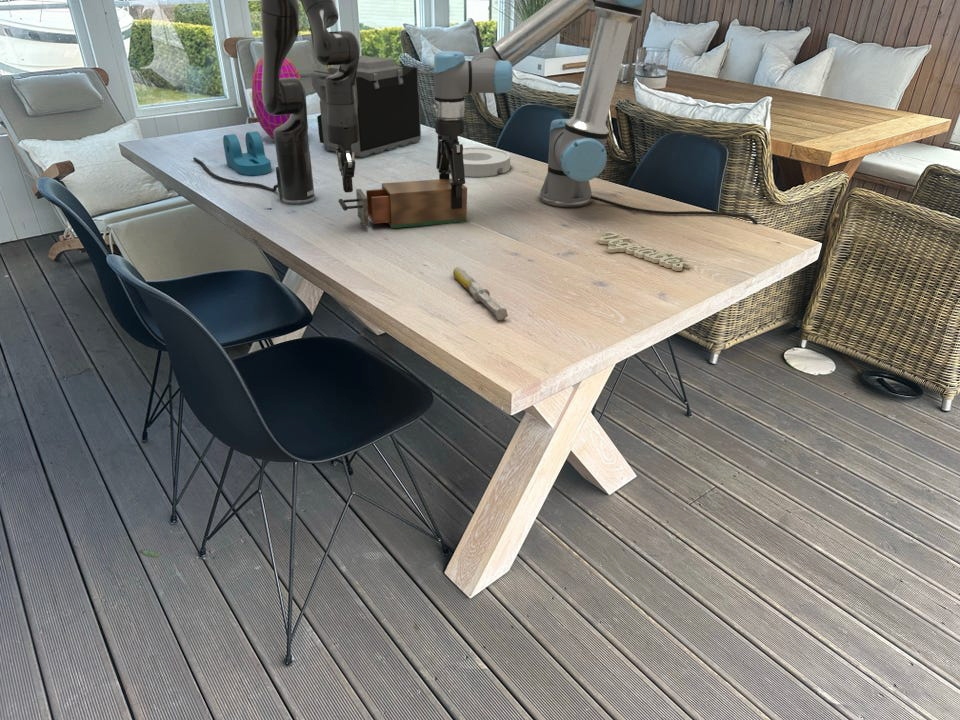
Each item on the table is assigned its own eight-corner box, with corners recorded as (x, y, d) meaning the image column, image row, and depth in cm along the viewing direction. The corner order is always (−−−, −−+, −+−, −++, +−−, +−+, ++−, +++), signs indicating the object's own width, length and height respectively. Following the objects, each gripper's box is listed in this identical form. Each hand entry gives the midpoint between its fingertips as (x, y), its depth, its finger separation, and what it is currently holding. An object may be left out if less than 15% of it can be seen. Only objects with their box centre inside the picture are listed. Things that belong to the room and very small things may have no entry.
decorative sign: (584, 239, 172) (609, 230, 178) (583, 243, 172) (609, 234, 178) (672, 271, 155) (697, 260, 161) (671, 275, 156) (696, 264, 161)
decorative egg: (293, 132, 276) (283, 50, 261) (319, 140, 264) (310, 56, 249) (249, 139, 265) (236, 54, 250) (273, 148, 253) (261, 60, 238)
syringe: (449, 274, 155) (449, 263, 153) (465, 272, 156) (464, 260, 154) (490, 323, 135) (491, 310, 133) (508, 319, 136) (508, 307, 134)
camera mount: (227, 164, 233) (221, 132, 227) (257, 160, 238) (252, 129, 233) (244, 176, 220) (239, 143, 215) (276, 172, 225) (271, 139, 220)
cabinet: (391, 228, 180) (390, 193, 175) (383, 216, 188) (381, 183, 183) (466, 221, 186) (467, 187, 182) (455, 210, 194) (455, 178, 189)
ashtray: (444, 158, 243) (444, 146, 241) (509, 159, 243) (510, 147, 241) (439, 176, 224) (438, 163, 222) (510, 177, 223) (510, 165, 221)
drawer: (345, 228, 176) (343, 200, 172) (339, 218, 183) (337, 190, 179) (437, 220, 184) (437, 192, 180) (428, 210, 191) (427, 183, 187)
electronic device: (383, 133, 276) (378, 52, 261) (425, 141, 265) (422, 56, 250) (314, 150, 251) (304, 61, 235) (358, 160, 240) (350, 67, 224)
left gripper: (322, 116, 171) (329, 185, 180) (331, 128, 161) (338, 200, 170) (352, 115, 174) (357, 182, 183) (363, 126, 163) (368, 198, 172)
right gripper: (423, 110, 184) (425, 192, 195) (449, 127, 166) (450, 216, 177) (449, 108, 186) (450, 189, 197) (478, 125, 168) (477, 213, 179)
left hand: (348, 191), depth 176 cm, fingers closed
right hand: (450, 202), depth 187 cm, fingers closed on cabinet, 10 cm apart
